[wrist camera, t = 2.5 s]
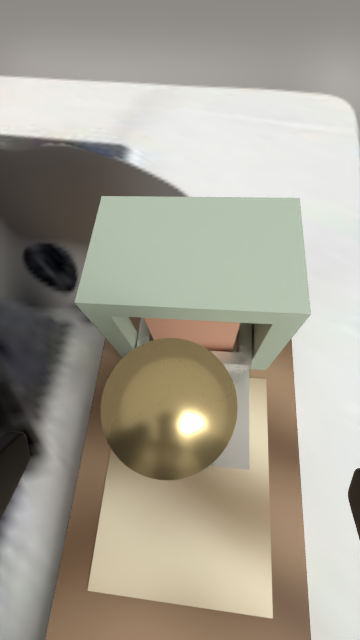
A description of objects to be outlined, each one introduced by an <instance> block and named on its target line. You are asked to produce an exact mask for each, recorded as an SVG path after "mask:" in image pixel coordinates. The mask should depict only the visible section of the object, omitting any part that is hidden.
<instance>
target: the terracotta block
mask: <svg viewBox="0 0 360 640" xmlns="http://www.w3.org/2000/svg"><path fill="white" fill-rule="evenodd" d="M144 320H145V322H146V324H147V326H148V328H149V331H150V333H151V335H152V337H153V339H154V340H157V339H164V338H178V339H184V340H188V341H192V342H194V343H197V344H199V345H201V346H203V347H205V348H206V349H208V350H209V351H221V352H232V350H233V346H234V343H235V340H236V336H237V333H238V330H239V326H240V323H237V322H218V321H199V320H180V319H160V318H144Z"/></svg>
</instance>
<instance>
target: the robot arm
mask: <svg viewBox="0 0 360 640" xmlns="http://www.w3.org/2000/svg"><path fill="white" fill-rule="evenodd" d="M29 459H30V451H29V447H28V442H27V438H26V435H25V434H24V433H23V432H16V431H9V432H7V433H5V434H3V435H1V436H0V519H1V517H2V515H3V513H4V511H5V509H6V507H7V505H8V503H9V501H10V499H11V497H12V495H13V493H14V491H15V489H16V487H17V485H18V483H19V481H20V479H21V477H22V475H23V473H24V470H25V468H26V466H27V464H28V462H29ZM348 498H349V503H350V506H351V510H352V514H353V517H354V521H355V524H356V528H357V532H358V535H359V539H360V468H357V469H356V470H355V472H354V474H353V478H352V481H351V484H350V487H349V491H348Z"/></svg>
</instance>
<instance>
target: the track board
mask: <svg viewBox="0 0 360 640" xmlns="http://www.w3.org/2000/svg"><path fill="white" fill-rule="evenodd" d="M129 318H130V320H131V322H132V324H133V326H134V327H135V329H136V331H137V333H138V334H139V327H140V321H141V317H129ZM122 358H123V357H122V356H121V355H120V354H119V353H118V351H117V350H116V349H115V348H114V347H113V346H112V345H111V343H110V342H109V341H108V340H107V339H106V338H105V342H104V347H103V352H102V357H101V362H100V367H99V372H98V377H97V382H96V387H95V392H94V397H93V402H92V407H91V412H90V417H89V422H88V427H87V432H86V437H85V442H84V447H83V452H82V457H81V462H80V467H79V472H78V477H77V482H76V487H75V492H74V497H73V502H72V507H71V512H70V517H69V522H68V527H67V532H66V537H65V542H64V547H63V552H62V557H61V562H60V567H59V572H58V577H57V582H56V587H55V592H54V597H53V602H52V607H51V612H50V617H49V622H48V627H47V632H46V637H45V640H311V632H310V617H309V602H308V586H307V571H306V556H305V540H304V525H303V510H302V494H301V479H300V464H299V448H298V433H297V418H296V402H295V387H294V372H293V356H292V341H291V339H290V341H289V342H288V343H287V344H286V346H285V347H284V348H283V349H282V351H281V352H280V353H279V354H278V356H277V357H276V358H275V359H274V361H273V362H272V363H271V364H270V366H269V367H268V368H267V369H266V370H254V369H250V370H249V469H250V470H245V469H236V468H226V467H216V466H208V467H207V468H206V469H204V470H202V471H201V472H199V473H197V474H195V475H192V476H190V477H187V478H183V479H178V480H157V479H152V478H148V477H145V476H142V475H140V474H138V473H136V472H134V471H133V470H131V469H130V468H128V467H127V466H126V465H125V464H123V463H122V462H121V461H120V460H119V459H118V457H117V456H116V455H115V454H114V452H113V451H112V449H111V448H110V446H109V444H108V442H107V440H106V437H105V435H104V432H103V428H102V423H101V399H102V394H103V390H104V387H105V384H106V382H107V379H108V378H109V376H110V374H111V372H112V371H113V369H114V368H115V366H116V365H117V364H118V363H119V361H120V360H121V359H122Z"/></svg>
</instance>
